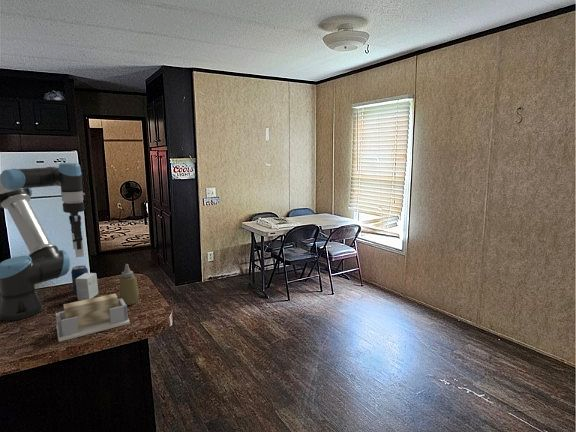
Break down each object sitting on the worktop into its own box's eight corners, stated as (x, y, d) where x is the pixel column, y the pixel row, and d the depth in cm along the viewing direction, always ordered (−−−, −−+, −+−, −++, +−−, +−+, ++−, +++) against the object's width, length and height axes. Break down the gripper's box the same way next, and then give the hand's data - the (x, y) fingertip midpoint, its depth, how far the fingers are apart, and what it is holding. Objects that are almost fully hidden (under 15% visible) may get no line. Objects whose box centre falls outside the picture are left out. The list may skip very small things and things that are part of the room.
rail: (66, 328, 134) (64, 308, 133) (65, 324, 138) (63, 304, 136) (119, 316, 144) (117, 297, 143) (117, 312, 148) (115, 293, 146)
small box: (87, 293, 174) (85, 272, 172) (98, 293, 174) (96, 272, 172) (77, 300, 166) (74, 278, 164) (89, 300, 166) (86, 278, 164)
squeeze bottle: (126, 308, 157) (122, 268, 154) (116, 303, 162) (112, 265, 159) (143, 302, 164) (140, 263, 160) (133, 297, 168) (130, 260, 165)
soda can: (72, 290, 178) (69, 266, 176) (88, 287, 182) (86, 264, 180) (74, 294, 172) (71, 270, 170) (90, 291, 176) (88, 267, 174)
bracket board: (58, 341, 130) (56, 323, 129) (56, 328, 140) (54, 311, 138) (129, 323, 143) (128, 306, 142) (123, 312, 153) (122, 296, 152)
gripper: (87, 205, 138) (92, 258, 142) (81, 197, 158) (85, 244, 162) (64, 207, 134) (69, 262, 138) (60, 198, 154) (66, 246, 158)
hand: (78, 252), depth 150 cm, fingers open, 13 cm apart
